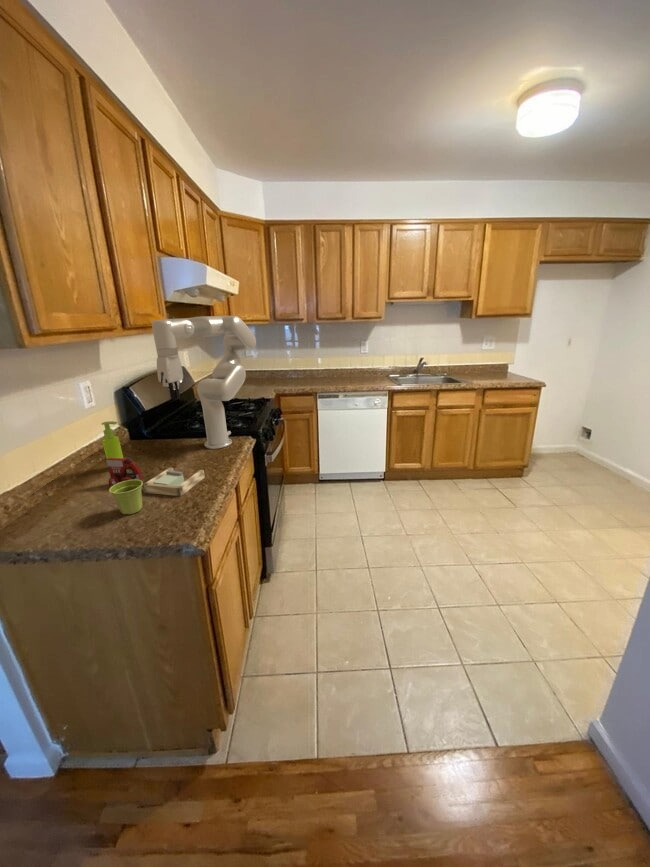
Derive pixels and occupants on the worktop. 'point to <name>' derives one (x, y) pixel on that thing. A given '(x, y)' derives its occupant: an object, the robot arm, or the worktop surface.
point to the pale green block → (171, 478)
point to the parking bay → (171, 489)
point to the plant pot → (128, 495)
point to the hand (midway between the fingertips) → (175, 398)
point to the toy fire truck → (122, 470)
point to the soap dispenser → (111, 442)
